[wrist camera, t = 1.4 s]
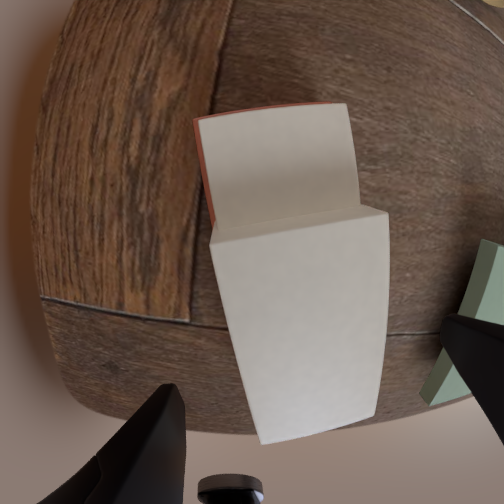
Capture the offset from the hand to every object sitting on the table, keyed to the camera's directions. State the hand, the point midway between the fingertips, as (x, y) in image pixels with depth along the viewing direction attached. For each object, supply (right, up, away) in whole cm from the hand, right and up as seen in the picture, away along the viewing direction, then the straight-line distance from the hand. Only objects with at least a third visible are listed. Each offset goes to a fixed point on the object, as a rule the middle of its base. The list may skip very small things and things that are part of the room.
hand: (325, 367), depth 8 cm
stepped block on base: (-1, +3, +5) cm, 6 cm away
